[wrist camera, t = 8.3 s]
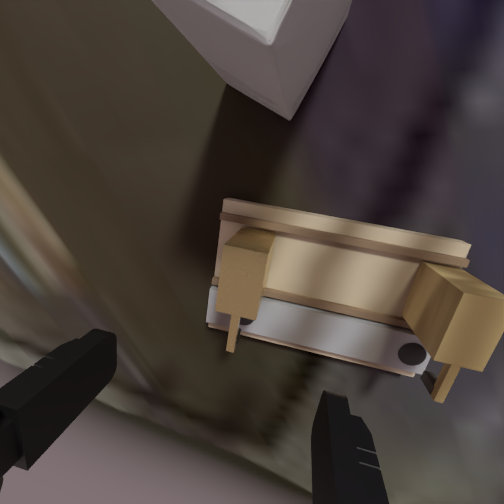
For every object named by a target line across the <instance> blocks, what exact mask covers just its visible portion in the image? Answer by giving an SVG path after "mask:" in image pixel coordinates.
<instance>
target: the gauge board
mask: <svg viewBox="0 0 504 504" xmlns="http://www.w3.org/2000/svg"><path fill="white" fill-rule="evenodd" d="M219 220H221V225H220V233H219V242H218V250H217V258H216V266H215V274H214V277H213V278H212V284H213V285H212V287H211V288H210V292H209V301H208V309H207V318H206V322H209V324H208V327H211V328H216V329H220V330H224V331H228V332H229V327H230V321H231V315H230V314H226V313H222V312H218V311H215V307H216V299H217V291H218V284H219V276H220V268H221V260H222V253H223V245H224V244H225V243H226V242H227V241H228V240H229V239H230V238H231V237H232V236H233V235H234V234H235V233H236V232H237V231H239V230H240V229H241V228H242V227H247V228H252V229H257V230H262V231H267V232H272V233H276V239H275V244H274V249H273V254H272V259H271V265H270V270H269V275H268V280H267V286H266V289H265V292H264V295H263V299H262V302H261V305H260V309H259V312H258V315H257V318H256V320H251V319H247V318H243V317H240V323H239V328H241V329H242V330H241V335H244V336H248V337H252V338H256V339H260V340H264V341H268V342H272V343H276V344H281V345H285V346H289V347H293V348H297V349H301V350H305V351H309V352H313V353H317V354H321V355H325V356H329V357H333V358H337V359H342V360H346V361H350V362H354V363H358V364H362V365H366V366H370V367H374V368H378V369H382V370H386V371H390V372H394V373H398V374H402V375H407V376H411V377H414V374H415V373H418V374H422V376H421V379H422V381H423V383H424V385H425V386H426V388H427V390H428V392H429V393H430V395H431V397H432V399H433V400H434V401H437V402H441V403H443V402H444V400H445V398H446V396H447V394H448V392H449V390H450V388H451V386H452V384H453V382H454V380H455V378H456V376H457V374H458V372H459V370H460V368H461V367H464V368H468V369H473V370H477V371H481V372H482V371H483V369H484V368H485V366H486V364H487V362H488V360H489V358H490V356H491V355H492V353H493V351H494V349H495V347H496V345H497V343H498V342H499V340H500V338H501V336H502V334H503V332H504V295H503V294H502V293H500V292H498V291H497V290H495V289H493V288H492V287H490V286H489V285H487V284H485V283H484V282H482V281H480V280H479V279H477V278H476V277H474V276H472V275H471V274H469V273H467V272H466V271H464V270H462V269H461V267H466V268H467V266H468V264H469V262H470V260H468V259H466V256H467V254H468V251H469V249H470V247H471V245H470V244H468V243H466V242H464V241H461V240H457V239H451V238H446V237H441V236H435V235H430V234H424V233H419V232H413V231H408V230H402V229H397V228H392V227H386V226H381V225H375V224H370V223H364V222H359V221H353V220H348V219H343V218H337V217H332V216H326V215H321V214H315V213H310V212H304V211H299V210H294V209H288V208H283V207H277V206H272V205H266V204H261V203H255V202H250V201H245V200H239V199H234V198H225V199H224V200H223V209H222V212H220V218H219ZM430 357H431V358H432V359H433V360H435V361H439V362H443V363H444V365H443V367H442V369H441V372H440V374H439V376H438V378H436V376H435V374H434V373H432V372H428V371H424V370H425V368H426V366H427V364H428V362H429V359H430Z"/></svg>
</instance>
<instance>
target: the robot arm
mask: <svg viewBox="0 0 504 504" xmlns="http://www.w3.org/2000/svg"><path fill="white" fill-rule="evenodd" d="M116 367H117V340H116V335H115V334H114V333H111V332H107V331H104V330H100V329H93V330H91V331H90V332H88V333H87V334H86V335H84V336H83V337H82V338H80V339H77V338H76V339H74V340H72V341H69V342H67V343H65V344H62V345H60V346H59V347H57V348H56V349H54V350H53V351H52V352H50V353H49V354H47V355H46V357H45V358H44V357H43V358H42V359H40V360H39V361H38V362H36V363H35V364H34V366H31V367H29V368H28V369H26V370H25V371H24V372H22V373H21V374H19V375H18V376H17V377H15V378H14V379H12V380H11V381H10V382H8V383H7V384H5V385H4V386H3V387H1V388H0V491H1V487H2V484H3V475H4V474H5V473H6V472H7V471H8V470H9V469H10V468H11V467H12V466H16V467H19V468H21V469H24V470H28V469H29V468H30V467H31V466H32V465H33V464H34V463H35V462H36V461H37V459H39V458H40V456H41V455H42V454H43V453H44V452H45V451H46V450H47V449H48V448H49V447H50V446H51V445H52V443H53V442H54V441H55V440H56V439H57V438H58V437H59V436H60V435H61V434H62V433H63V432H64V431H65V429H66V428H67V427H68V426H69V425H70V424H71V423H72V422H73V421H74V420H75V419H76V418H77V416H78V415H79V414H80V413H81V412H82V411H83V410H84V409H85V408H86V407H87V405H88V404H89V403H90V402H91V401H92V400H93V399H94V398H95V397H96V396H97V395H98V394H99V393H100V392H101V390H102V389H103V388H104V387H105V386H106V385H107V384H108V383H109V382H110V380H111V379H112V377H113V375H114V373H115V371H116ZM311 457H312V497H313V504H389V501H388V497H387V493H386V489H385V486H384V482H383V478H382V474H381V471H380V469H379V468H380V466H379V462H378V458H377V455H376V450H375V446H374V442H373V438H372V435H371V433H370V431H369V429H368V428H367V426H366V424H365V423H364V421H363V420H362V418H361V417H358V416H354V415H351V414H350V409H349V404H348V399H347V397H346V396H345V395H341V394H337V393H333V392H330V391H326V390H324V391H323V393H322V396H321V399H320V402H319V405H318V409H317V412H316V415H315V419H314V422H313V427H312V435H311Z"/></svg>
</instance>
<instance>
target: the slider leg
mask: <svg viewBox="0 0 504 504" xmlns="http://www.w3.org/2000/svg"><path fill="white" fill-rule="evenodd" d="M275 239H276V233H272V232H267V231H262V230H257V229H252V228H247V227H242V228H241V229H240V230H239V231H237V232H236V233H235V234H234V235H233V236H232V237H231V238H230V239H229V240H228V241H227V242H226V243H225V244H224V245H223V253H222V260H221V268H220V276H219V284H218V291H217V299H216V307H215V311H218V312H222V313H226V314H230V315H231V321H230V327H229V334H228V340H227V347H226V351H229V352H233V353H234V350H235V348H236V347H237V344H238V341H239V338H240V336H241V330H242V329H241V328H239V323H240V317H243V318H247V319H251V320H256V318H257V315H258V312H259V309H260V305H261V302H262V299H263V295H264V292H265V289H266V286H267V280H268V275H269V270H270V265H271V259H272V254H273V249H274V244H275Z"/></svg>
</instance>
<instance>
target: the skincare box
mask: <svg viewBox="0 0 504 504" xmlns="http://www.w3.org/2000/svg"><path fill="white" fill-rule="evenodd" d="M152 1H153V3H154V4H155V5H156V6H157V7H158V8H159V9H160V10H161V11H162V12H163V13H164V15H165V16H166V17H167V18H168V19H169V20H170V21H171V22H172V23H173V24H174V25H175V27H176V28H177V29H178V30H179V31H180V32H181V33H182V34H183V35H184V36H185V38H186V39H187V40H188V41H189V42H190V43H191V44H192V45H193V46H194V47H195V49H196V50H197V51H198V52H199V53H200V54H201V55H202V56H203V57H204V58H205V60H206V61H207V62H208V63H209V64H210V65H211V66H212V67H213V68H214V70H215V71H216V72H217V73H218V74H219V75H220V76H221V77H222V78H223V79H224V81H225V82H226V83H227V84H229V85H230V86H232V87H233V88H235V89H237V90H238V91H240V92H242V93H243V94H245V95H246V96H248V97H250V98H252V99H253V100H255V101H257V102H258V103H260V104H262V105H263V106H265V107H267V108H269V109H270V110H272V111H274V112H275V113H277V114H279V115H280V116H282V117H284V118H285V119H287V120H289V121H290V120H291V119H292V117H293V116H294V114H295V112H296V111H297V109H298V107H299V105H300V104H301V102H302V100H303V98H304V96H305V95H306V93H307V91H308V89H309V87H310V85H311V84H312V82H313V80H314V78H315V76H316V75H317V73H318V71H319V69H320V67H321V65H322V64H323V62H324V60H325V58H326V56H327V54H328V53H329V51H330V49H331V47H332V45H333V43H334V41H335V39H336V38H337V36H338V34H339V32H340V30H341V28H342V26H343V24H344V22H345V20H346V18H347V16H348V12H349V9H350V5H351V2H352V0H152Z"/></svg>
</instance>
